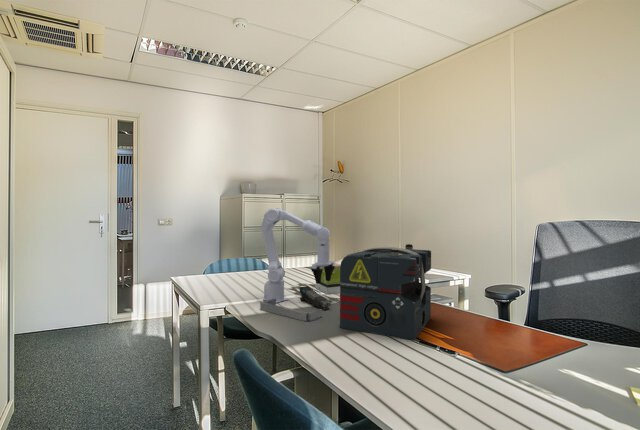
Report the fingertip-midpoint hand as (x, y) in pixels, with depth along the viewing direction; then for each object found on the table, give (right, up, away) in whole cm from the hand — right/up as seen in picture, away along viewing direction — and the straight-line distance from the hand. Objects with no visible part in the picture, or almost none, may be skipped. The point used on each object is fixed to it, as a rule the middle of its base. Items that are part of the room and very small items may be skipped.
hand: (323, 282), depth 171 cm
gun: (-4, -10, -5) cm, 12 cm away
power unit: (+24, -10, -31) cm, 41 cm away
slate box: (-14, -10, -18) cm, 24 cm away
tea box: (+4, -9, +23) cm, 25 cm away
